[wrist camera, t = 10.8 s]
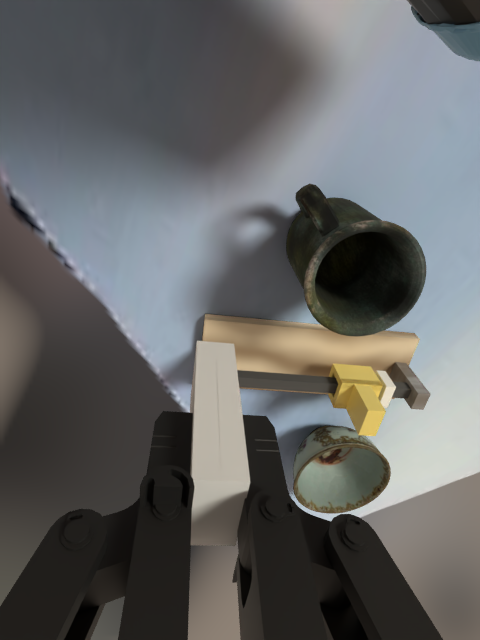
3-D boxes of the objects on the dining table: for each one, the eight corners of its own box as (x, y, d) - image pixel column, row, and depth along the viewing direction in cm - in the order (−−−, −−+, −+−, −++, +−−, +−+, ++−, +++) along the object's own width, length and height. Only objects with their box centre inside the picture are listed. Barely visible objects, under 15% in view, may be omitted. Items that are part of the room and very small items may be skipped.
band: (376, 370, 49) (386, 386, 46) (385, 371, 49) (396, 387, 46) (368, 390, 50) (378, 407, 47) (377, 390, 50) (387, 407, 48)
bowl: (341, 476, 65) (358, 521, 58) (269, 459, 61) (277, 504, 54) (386, 418, 59) (410, 460, 52) (309, 395, 56) (323, 437, 49)
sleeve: (332, 363, 48) (355, 408, 41) (370, 366, 49) (399, 411, 41) (325, 387, 50) (345, 435, 43) (361, 390, 50) (387, 437, 43)
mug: (311, 302, 48) (341, 357, 38) (246, 206, 42) (259, 239, 31) (390, 252, 46) (445, 296, 35) (333, 142, 40) (379, 156, 29)
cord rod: (218, 368, 46) (218, 375, 44) (407, 382, 49) (412, 389, 48) (216, 378, 46) (217, 385, 45) (403, 391, 49) (408, 398, 48)
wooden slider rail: (205, 313, 48) (204, 349, 41) (414, 333, 52) (447, 369, 45) (197, 378, 53) (196, 420, 46) (389, 392, 56) (415, 432, 49)
